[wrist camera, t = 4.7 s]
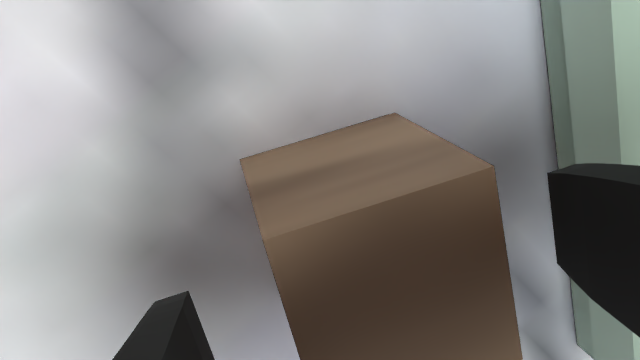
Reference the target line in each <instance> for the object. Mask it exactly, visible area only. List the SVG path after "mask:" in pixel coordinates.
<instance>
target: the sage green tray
mask: <svg viewBox="0 0 640 360" xmlns="http://www.w3.org/2000/svg"><path fill="white" fill-rule="evenodd" d="M540 1H541V11H542V20H543V29H544V39H545V48H546V57H547V67H548V76H549V85H550V95H551V104H552V113H553V123H554V132H555V141H556V151H557V160H558V169H562V168H565V167H568V166H571V165H574V164H583V163H605V164H624V165H638V166H640V0H540ZM570 281H571V291H572V300H573V309H574V319H575V328H576V337H577V345H578V346H579V347H581V348H582V349H583V350H584V351H585V352H586V353H587V354H588V355H590V356H591V357H592V358H593V359H594V360H640V337H638V336H637V335H636V334H634V333H633V332H632V331H631V330H629V329H628V328H627V327H625V326H624V325H623V324H622V323H620V322H619V321H618V320H617V319H615V318H614V317H613V316H612V315H610V314H609V313H608V312H607V311H605V310H604V309H603V308H602V307H600V306H599V305H598V304H597V303H595V302H594V301H593V300H592V299H591V298H590V297H589V296H588V295H587V294H586V293H585V292H584V291H583V290H582V289H581V288H580V287H579V286H578V285H577V284H576V283H575V282H574V281H573V280H572V279H571V278H570Z"/></svg>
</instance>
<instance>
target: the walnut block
mask: <svg viewBox="0 0 640 360" xmlns="http://www.w3.org/2000/svg"><path fill="white" fill-rule="evenodd" d="M240 162H241V166H242V169H243V173H244V177H245V180H246V184H247V187H248V191H249V194H250V198H251V201H252V205H253V208H254V212H255V215H256V219H257V222H258V226H259V229H260V233H261V236H262V240H263V243H264V246H265V249H266V253H267V256H268V259H269V262H270V265H271V268H272V272H273V275H274V278H275V281H276V284H277V287H278V291H279V294H280V297H281V300H282V303H283V306H284V309H285V313H286V316H287V319H288V322H289V325H290V328H291V332H292V335H293V338H294V341H295V344H296V347H297V351H298V354H299V357H300V360H522V359H523V358H522V351H521V344H520V338H519V331H518V324H517V317H516V311H515V304H514V297H513V290H512V284H511V277H510V270H509V263H508V257H507V250H506V243H505V236H504V230H503V223H502V216H501V210H500V203H499V196H498V189H497V183H496V176H495V169H494V166H493V165H491V164H489V163H487V162H486V161H484V160H482V159H480V158H478V157H476V156H474V155H473V154H471V153H469V152H467V151H465V150H463V149H461V148H460V147H458V146H456V145H454V144H452V143H450V142H448V141H447V140H445V139H443V138H441V137H439V136H437V135H435V134H434V133H432V132H430V131H428V130H426V129H424V128H422V127H421V126H419V125H417V124H415V123H413V122H411V121H409V120H408V119H406V118H404V117H402V116H400V115H398V114H396V113H392V114H388V115H385V116H382V117H378V118H375V119H372V120H368V121H365V122H362V123H358V124H355V125H352V126H349V127H345V128H342V129H339V130H335V131H332V132H329V133H325V134H322V135H319V136H315V137H312V138H309V139H305V140H302V141H299V142H296V143H292V144H289V145H286V146H282V147H279V148H276V149H272V150H269V151H266V152H262V153H259V154H256V155H253V156H249V157H246V158H243V159H240Z"/></svg>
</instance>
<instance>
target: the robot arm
mask: <svg viewBox="0 0 640 360" xmlns="http://www.w3.org/2000/svg"><path fill="white" fill-rule="evenodd" d="M547 175H548V184H549V193H550V202H551V211H552V220H553V229H554V238H555V247H556V256H557V264H558V265H559V266H560V267H561V268H562V269H563V270H564V271H565V272H566V273H567V274H568V276H569V277H570V278H571V279H572V280H573V281H574V282H575V283H576V284H577V285H578V286H579V287H580V288H581V289H582V290H583V291H584V292H585V293H586V294H587V295H588V296H589V297H590V298H591V299H592V300H593V301H594V302H595V303H597V304H598V305H599V306H600V307H602V308H603V309H604V310H605V311H607V312H608V313H609V314H610V315H612V316H613V317H614V318H615V319H617V320H618V321H619V322H620V323H622V324H623V325H624V326H625V327H627V328H628V329H629V330H631V331H632V332H633V333H634V334H636V335H637V336H638V337H640V166H638V165H624V164H605V163H583V164H574V165H571V166H568V167H565V168H562V169H558V170H555V171H552V172H549V173H547ZM113 360H215V359H214V357H213V354H212V351H211V349H210V346H209V344H208V341H207V338H206V336H205V333H204V330H203V328H202V325H201V323H200V320H199V317H198V315H197V312H196V310H195V307H194V304H193V302H192V299H191V296H190V294H189V291H186V292H183V293H180V294H177V295H174V296H171V297H168V298H165V299H162V300H159V301H156V302H155V303H154V304H153V305H152V306H151V307H150V309H149V310H148V311H147V313H146V314H145V315H144V317H143V318H142V319H141V321H140V322H139V324H138V325H137V326H136V328H135V329H134V331H133V332H132V333H131V335H130V336H129V338H128V339H127V340H126V342H125V343H124V345H123V346H122V347H121V349H120V350H119V351H118V353H117V354H116V355H115V357H114V358H113Z"/></svg>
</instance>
